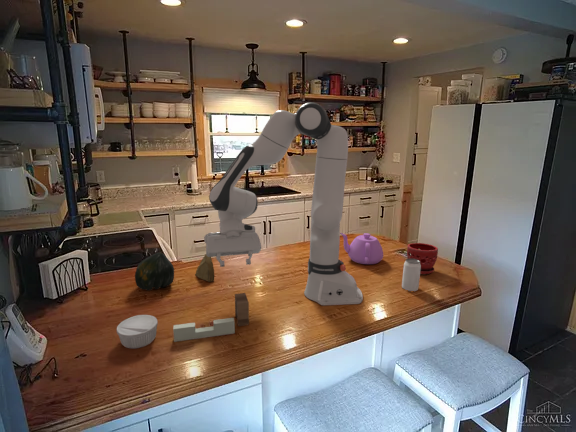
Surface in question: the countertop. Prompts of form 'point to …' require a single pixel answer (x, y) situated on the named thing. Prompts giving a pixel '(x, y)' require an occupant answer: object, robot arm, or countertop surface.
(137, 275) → the squash
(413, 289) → the can
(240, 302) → the walnut block
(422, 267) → the plant pot
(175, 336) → the slotted rail
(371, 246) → the teapot
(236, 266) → the countertop surface
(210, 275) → the rock
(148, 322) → the ramekin
